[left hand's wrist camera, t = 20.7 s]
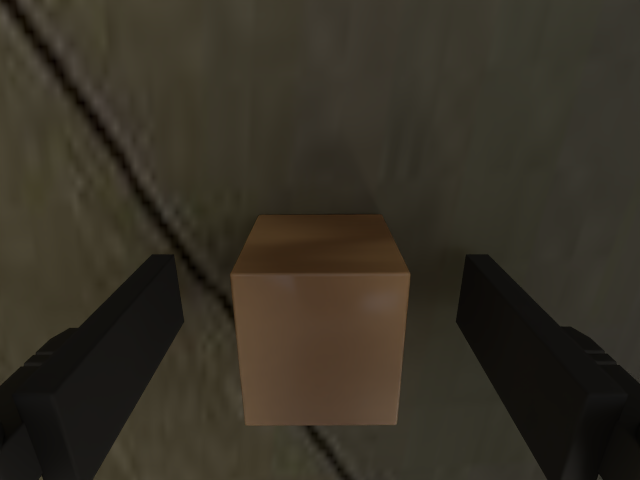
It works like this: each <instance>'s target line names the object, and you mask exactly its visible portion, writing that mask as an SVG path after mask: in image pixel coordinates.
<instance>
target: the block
mask: <svg viewBox="0 0 640 480" xmlns="http://www.w3.org/2000/svg"><path fill="white" fill-rule="evenodd" d="M410 275H411V274H410V272H409V270H408V268H407V266H406V264H405V261H404V259H403V257H402V255H401V253H400V251H399V249H398V247H397V245H396V243H395V241H394V239H393V237H392V235H391V233H390V231H389V228H388V226H387V224H386V222H385V220H384V218H383V216H382V215H381V214H363V215H259V216H258V217H257V220H256V222H255V224H254V226H253V228H252V230H251V232H250V234H249V236H248V238H247V240H246V242H245V245H244V247H243V249H242V251H241V253H240V255H239V257H238V259H237V261H236V263H235V265H234V267H233V270H232V272H231V274H230V280H231V290H232V300H233V310H234V320H235V330H236V340H237V350H238V360H239V370H240V380H241V389H242V399H243V409H244V419H245V425H247V426H251V425H396V424H397V419H398V408H399V397H400V386H401V375H402V364H403V353H404V342H405V331H406V320H407V309H408V298H409V287H410Z"/></svg>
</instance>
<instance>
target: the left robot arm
mask: <svg viewBox="0 0 640 480" xmlns="http://www.w3.org/2000/svg"><path fill="white" fill-rule="evenodd" d="M183 323H184V318H183V311H182V304H181V298H180V291H179V285H178V278H177V271H176V265H175V258H174V255H151V256H150V257H149V258H148V259H147V260H146V261H145V262H144V263H143V264H142V265H141V266H140V267H139V268H138V269H137V270H136V271H135V272H134V273H133V274H132V275H131V276H130V277H129V278H128V279H127V280H126V281H125V282H124V283H123V284H122V285H121V286H120V287H119V288H118V289H117V290H116V291H115V292H114V293H113V294H112V295H111V296H110V297H109V298H108V299H107V300H106V301H105V302H104V303H103V304H102V305H101V306H100V307H99V308H98V309H97V310H96V311H95V312H94V313H93V314H92V315H91V316H90V317H89V318H88V319H87V320H86V321H85V322H84V323H83V324H82V325H81V326H80V327H79V328H69V329H67V330H65V331H64V332H62V333H60V334H58V335H57V336H55V337H53V338H51V339H50V340H49V341H48V342H47V343H46V344H45V345H43V346H42V347H41V348H40V349H39V350H38V351H37V352H36V355H33V356H32V357H31V358H30V359H28V360H27V361H26V362H25V363H24V366H23V367H20V368H19V369H18V370H17V371H16V372H15V373H13V374H12V375H11V376H10V377H9V378H8V379H7V380H6V381H5V382H4V383H3V384H2V385H1V386H0V480H38V479H39V478H40V477H41V475H42V477H43V480H93V478H94V476H95V474H96V473H97V471H98V469H99V468H100V466H101V464H102V462H103V461H104V459H105V457H106V455H107V454H108V452H109V450H110V449H111V447H112V445H113V443H114V442H115V440H116V438H117V436H118V435H119V433H120V431H121V430H122V428H123V426H124V424H125V423H126V421H127V419H128V418H129V416H130V414H131V412H132V411H133V409H134V407H135V405H136V404H137V402H138V400H139V399H140V397H141V395H142V393H143V392H144V390H145V388H146V386H147V385H148V383H149V381H150V380H151V378H152V376H153V374H154V373H155V371H156V369H157V367H158V366H159V364H160V362H161V361H162V359H163V357H164V355H165V354H166V352H167V350H168V349H169V347H170V345H171V343H172V342H173V340H174V338H175V336H176V335H177V333H178V331H179V330H180V328H181V326H182V324H183ZM456 323H457V324H458V326H459V328H460V330H461V331H462V333H463V335H464V336H465V338H466V340H467V342H468V343H469V345H470V347H471V349H472V350H473V352H474V354H475V355H476V357H477V359H478V361H479V362H480V364H481V366H482V368H483V369H484V371H485V373H486V374H487V376H488V378H489V380H490V381H491V383H492V385H493V386H494V388H495V390H496V392H497V393H498V395H499V397H500V399H501V400H502V402H503V404H504V405H505V407H506V409H507V411H508V412H509V414H510V416H511V418H512V419H513V421H514V423H515V424H516V426H517V428H518V430H519V431H520V433H521V435H522V437H523V438H524V440H525V442H526V443H527V445H528V447H529V449H530V450H531V452H532V454H533V455H534V457H535V459H536V461H537V462H538V464H539V466H540V468H541V469H542V471H543V473H544V474H545V476H546V478H547V480H597V477H598V474H599V475H600V476H601V477H602V479H603V480H640V384H639V383H638V382H637V381H636V380H635V379H634V378H633V377H632V376H631V375H630V374H629V373H628V372H626V371H625V370H624V369H623V368H622V367H621V366H620V365H617V364H616V361H615V360H613V359H612V358H611V357H610V356H609V355H608V354H605V351H604V350H603V349H602V348H601V347H599V346H598V345H597V344H596V343H595V342H594V341H593V340H592V339H591V338H589V337H588V336H586V335H584V334H583V333H581V332H579V331H577V330H576V329H574V328H572V327H560V326H559V325H558V324H557V323H556V322H555V321H554V320H553V319H552V318H551V317H550V316H549V315H548V314H547V313H546V312H545V311H544V310H543V309H542V308H541V307H540V306H539V305H538V304H537V303H536V302H535V301H534V300H533V299H532V298H531V297H530V296H529V295H528V294H527V293H526V292H525V291H524V290H523V289H522V288H521V287H520V286H519V285H518V284H517V283H516V282H515V281H514V280H513V279H512V278H511V277H510V276H509V275H508V274H507V273H506V272H505V271H504V270H503V269H502V268H501V267H500V266H499V265H498V264H497V263H496V262H495V261H494V260H493V259H492V258H491V257H490V256H489V255H466V258H465V265H464V271H463V278H462V285H461V291H460V298H459V304H458V311H457V318H456Z"/></svg>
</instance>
